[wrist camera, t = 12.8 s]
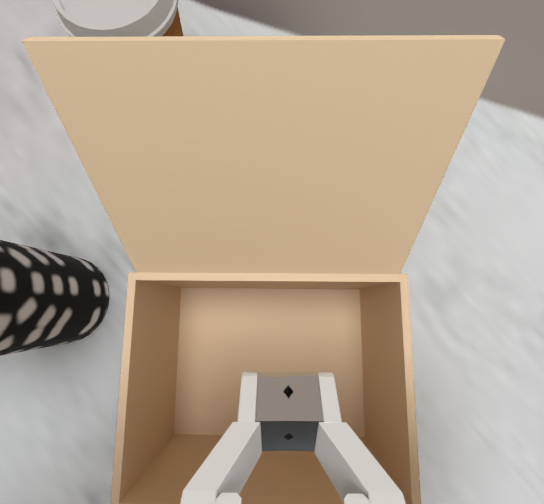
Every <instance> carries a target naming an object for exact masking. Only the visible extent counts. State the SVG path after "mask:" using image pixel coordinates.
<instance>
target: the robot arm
mask: <svg viewBox="0 0 544 504" xmlns="http://www.w3.org/2000/svg"><path fill="white" fill-rule="evenodd" d="M262 451H312V452H314V453H315V455H316V457H317V458H318V460H319V462H320V463H321V465H322V467H323V468H324V470H325V472H326V474H327V475H328V477H329V479H330V480H331V482H332V484H333V485H334V487H335V489H336V490H337V492H338V494H339V495H340V497H341V499H342V501H343V504H405V500H404V496H403V493H402V492H401V490H400V489H399V488H398V487H397V485H396V484H395V483H394V481H393V480H392V479H391V478H390V476H389V475H388V474H387V473H386V471H385V470H384V469H383V468H382V466H381V465H380V464H379V463H378V461H377V460H376V459H375V458H374V456H373V455H372V454H371V453H370V451H369V450H368V449H367V447H366V446H365V445H364V444H363V442H362V441H361V440H360V439H359V437H358V436H357V435H356V434H355V432H354V431H353V430H352V429H351V427H350V426H349V425H348V424H347V422H342V420H341V414H340V408H339V402H338V396H337V390H336V384H335V378H334V375H333V373H332V372H287V373H282V372H243V374H242V378H241V388H240V398H239V409H238V419H237V422H232V423H231V425H230V426H229V428H228V429H227V430H226V432H225V433H224V434H223V436H222V437H221V439H220V440H219V441H218V443H217V444H216V446H215V447H214V448H213V450H212V451H211V452H210V454H209V455H208V457H207V458H206V459H205V461H204V462H203V464H202V465H201V466H200V468H199V469H198V470H197V472H196V473H195V475H194V476H193V477H192V479H191V480H190V481H189V483H188V484H187V486H186V487H185V488H184V490H183V493H182V498H181V503H180V504H242V498H241V497H240V496H239V494H240V492H241V491H242V489H243V487H244V485H245V483H246V481H247V480H248V478H249V476H250V474H251V472H252V470H253V469H254V467H255V465H256V463H257V461H258V459H259V458H260V456H261V454H262Z"/></svg>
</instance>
